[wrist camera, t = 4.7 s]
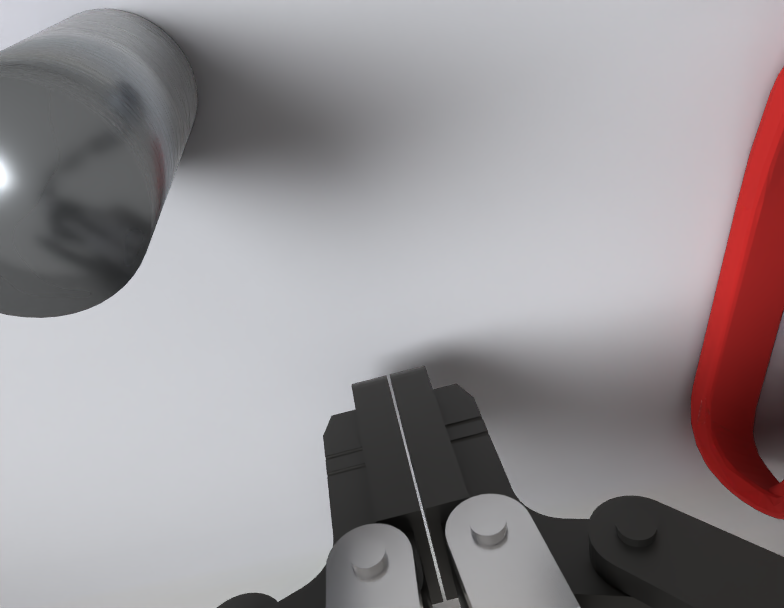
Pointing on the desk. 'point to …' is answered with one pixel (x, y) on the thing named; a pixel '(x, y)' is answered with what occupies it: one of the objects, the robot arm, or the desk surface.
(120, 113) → the spacer posts
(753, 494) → the tracker holder
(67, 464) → the desk surface
